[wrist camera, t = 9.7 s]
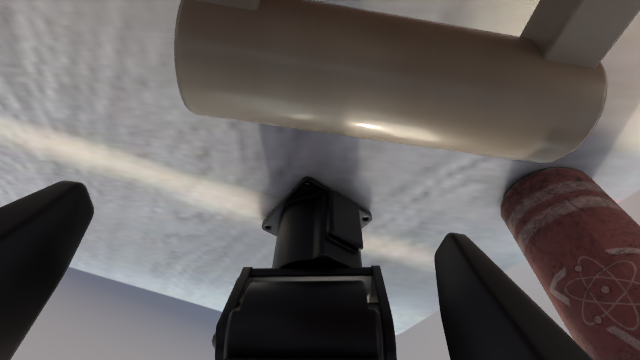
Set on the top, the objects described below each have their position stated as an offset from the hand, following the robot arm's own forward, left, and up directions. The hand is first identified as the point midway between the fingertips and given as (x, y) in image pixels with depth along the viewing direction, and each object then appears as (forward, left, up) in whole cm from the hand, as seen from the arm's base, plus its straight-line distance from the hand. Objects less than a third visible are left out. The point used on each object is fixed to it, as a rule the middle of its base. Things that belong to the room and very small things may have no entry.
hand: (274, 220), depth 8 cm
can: (+2, -20, -13) cm, 24 cm away
